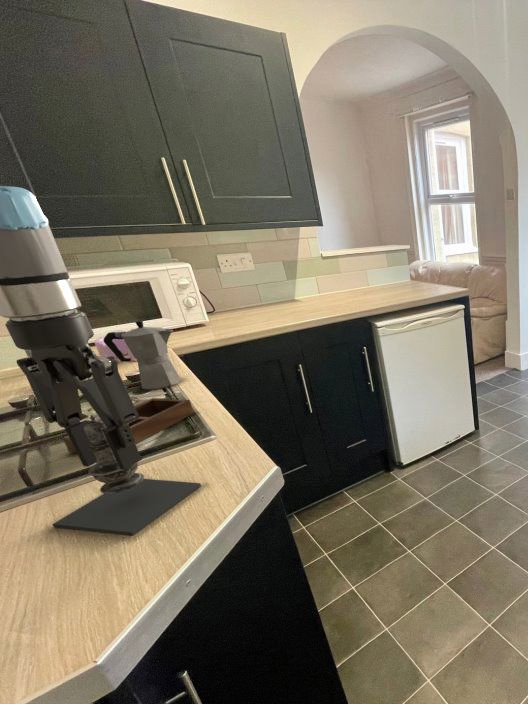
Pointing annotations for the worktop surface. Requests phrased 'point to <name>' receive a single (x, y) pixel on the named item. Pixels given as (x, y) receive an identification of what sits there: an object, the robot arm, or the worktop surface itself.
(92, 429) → the grey chess piece
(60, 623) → the worktop surface
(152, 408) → the brown shallow rectangular box
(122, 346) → the clip
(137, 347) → the coffeepot
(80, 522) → the mat
